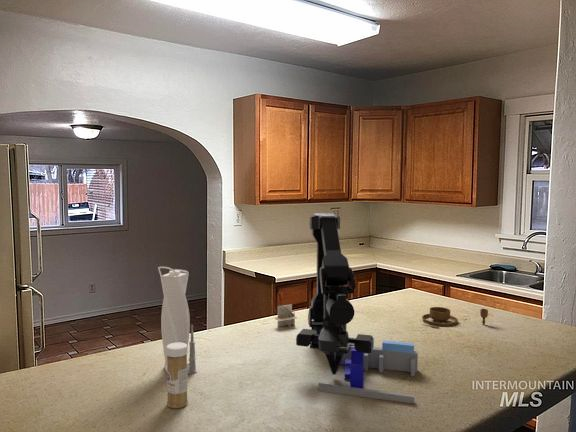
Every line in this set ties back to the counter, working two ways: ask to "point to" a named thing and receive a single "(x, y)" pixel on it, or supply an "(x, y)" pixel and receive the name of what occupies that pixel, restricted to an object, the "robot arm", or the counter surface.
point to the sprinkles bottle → (177, 374)
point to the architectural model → (285, 315)
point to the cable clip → (354, 369)
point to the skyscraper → (176, 314)
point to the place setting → (446, 317)
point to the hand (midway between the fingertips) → (334, 373)
